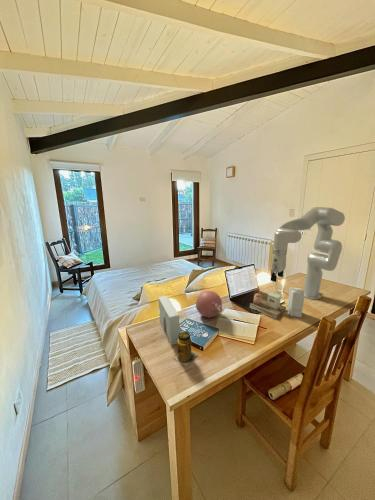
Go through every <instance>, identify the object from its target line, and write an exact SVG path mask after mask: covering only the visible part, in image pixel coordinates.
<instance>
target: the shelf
mask: <svg viewBox="0 0 375 500" xmlns="http://www.w3.org/2000/svg"><path fill="white" fill-rule="evenodd" d="M266 304H267V298H263V297H262V299H261V305H260V306H256V305H254V304H253V302H252V303H249V309H250V308H251V310H253V309H254V310H253V311H255V310H257V311H259V312H258V313H260V312H261V313H260V314H262V315H265V316H268V317H270V318H272V319H275V320H277V319H278V318H279V317H280V316H281V315H282V314H283V313H284V312H285V311H286V310H287V306H285V305H281V304H280V307H279V308H278V309H277V310H275V309H273V308H270V307H267V306H266ZM257 311H256V312H257Z"/></svg>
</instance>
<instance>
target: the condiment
mask: <svg viewBox="0 0 375 500" xmlns="http://www.w3.org/2000/svg"><path fill="white" fill-rule="evenodd" d="M176 345H177V347H176V348H177V354H176V355H175V356H174V357H173V359H174V360H175V361H177V362H178V363H180V364H182V365H183V366H184V367H187V366H188V365H190V363H192V361H194V359H196V358H197V356H198V354H197V353H195V352H194V351H192V339H191V334H190V332H189V331H180V333H179V335H178V342H177V344H176Z"/></svg>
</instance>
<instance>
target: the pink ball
mask: <svg viewBox="0 0 375 500" xmlns="http://www.w3.org/2000/svg"><path fill="white" fill-rule="evenodd" d="M195 308H196V310H197V312H198V313H199V314H200V315H201V316H202V317H205V318H207V319H208V318H209V319H210V318H214V317H216V316H217V315H219V314H220V313H221V312H223V301H222V299H221V297H220V295H219V294H218V293H216V292H215V291H213V290H204V291H202V292H200V293H199V295H198V296H196V299H195Z"/></svg>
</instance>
